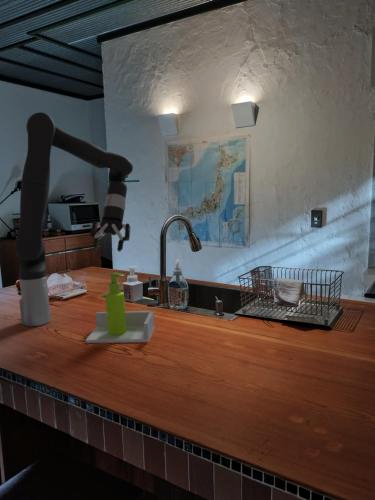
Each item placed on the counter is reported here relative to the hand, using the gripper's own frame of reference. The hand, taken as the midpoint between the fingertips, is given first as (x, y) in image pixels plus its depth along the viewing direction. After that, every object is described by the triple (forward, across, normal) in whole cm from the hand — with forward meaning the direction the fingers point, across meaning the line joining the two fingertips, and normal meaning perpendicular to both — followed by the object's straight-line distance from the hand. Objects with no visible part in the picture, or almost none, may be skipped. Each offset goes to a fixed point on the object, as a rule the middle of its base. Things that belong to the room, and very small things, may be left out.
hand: (107, 250), depth 141 cm
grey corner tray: (+30, +11, -4) cm, 32 cm away
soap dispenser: (+29, +10, -5) cm, 31 cm away
